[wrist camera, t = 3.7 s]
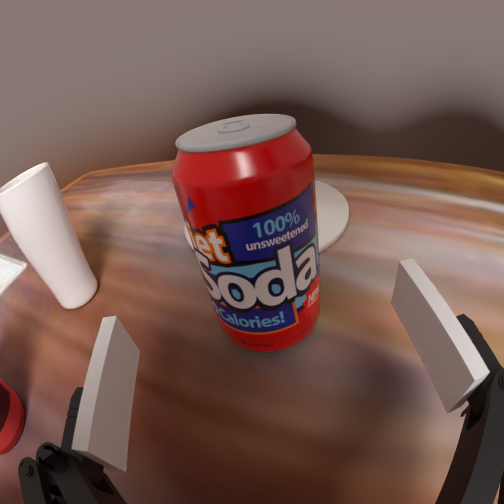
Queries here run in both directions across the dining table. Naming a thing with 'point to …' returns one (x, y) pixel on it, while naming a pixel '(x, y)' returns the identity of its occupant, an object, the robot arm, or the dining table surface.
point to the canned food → (10, 418)
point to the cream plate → (323, 215)
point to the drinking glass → (47, 235)
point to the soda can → (253, 226)
